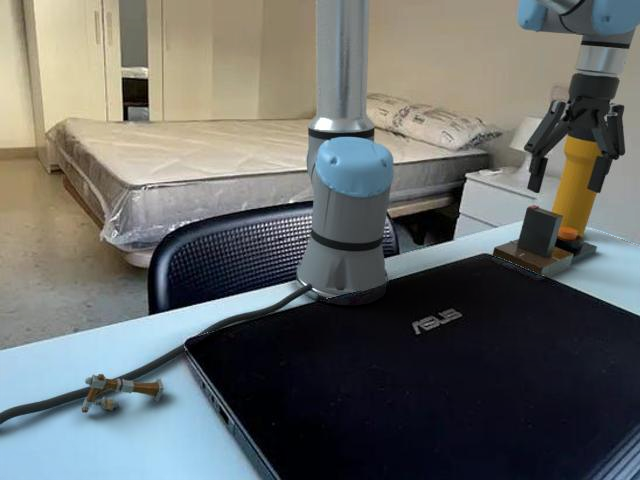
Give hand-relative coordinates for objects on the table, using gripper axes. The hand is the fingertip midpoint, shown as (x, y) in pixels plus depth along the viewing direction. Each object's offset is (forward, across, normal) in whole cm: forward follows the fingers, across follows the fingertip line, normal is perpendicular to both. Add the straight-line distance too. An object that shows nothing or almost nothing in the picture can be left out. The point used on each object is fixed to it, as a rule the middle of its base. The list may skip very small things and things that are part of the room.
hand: (563, 191), depth 95 cm
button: (+11, -7, -3) cm, 14 cm away
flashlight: (+15, -15, -13) cm, 24 cm away
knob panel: (+14, +5, +2) cm, 15 cm away
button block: (+14, -7, -4) cm, 16 cm away
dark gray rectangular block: (+11, +5, +2) cm, 12 cm away
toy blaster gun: (+14, +76, +31) cm, 84 cm away
